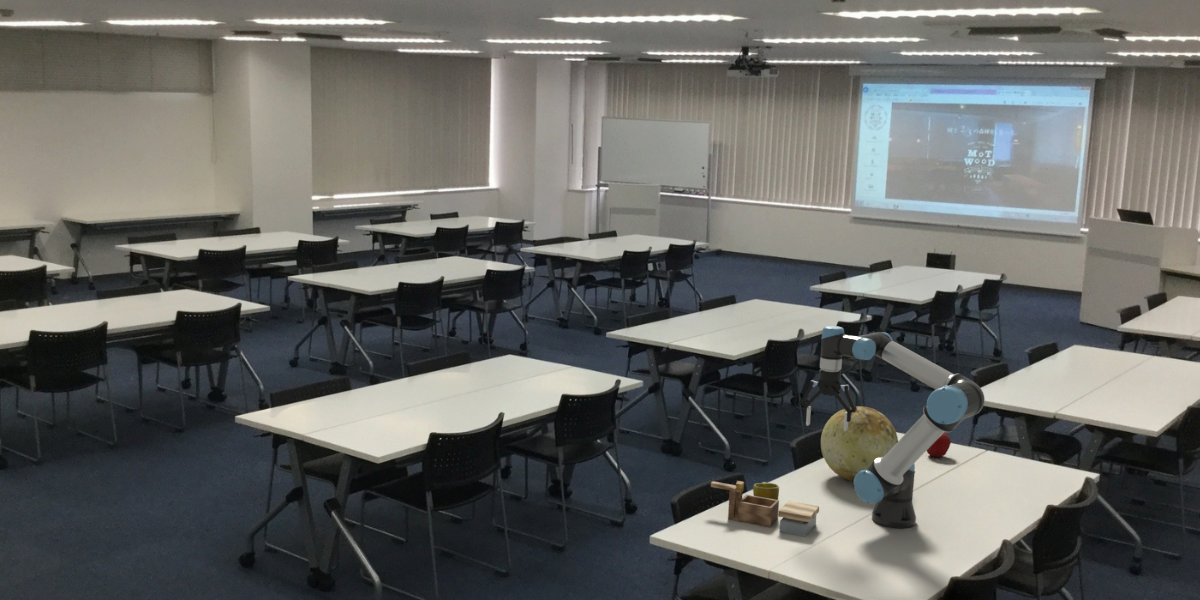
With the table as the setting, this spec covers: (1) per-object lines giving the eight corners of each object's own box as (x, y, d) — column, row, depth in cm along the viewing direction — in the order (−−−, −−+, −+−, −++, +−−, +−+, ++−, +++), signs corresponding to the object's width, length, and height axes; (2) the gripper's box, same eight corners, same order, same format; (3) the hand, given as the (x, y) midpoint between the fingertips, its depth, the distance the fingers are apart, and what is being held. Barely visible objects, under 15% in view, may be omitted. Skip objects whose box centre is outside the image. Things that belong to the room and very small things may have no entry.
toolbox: (777, 519, 368) (779, 488, 367) (770, 527, 360) (772, 495, 359) (736, 511, 375) (737, 480, 373) (727, 519, 367) (729, 487, 365)
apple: (924, 459, 448) (926, 432, 446) (921, 452, 458) (923, 426, 456) (951, 461, 446) (953, 434, 444) (947, 454, 456) (949, 428, 455)
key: (743, 490, 369) (744, 482, 369) (741, 492, 367) (741, 484, 366) (713, 484, 374) (713, 476, 374) (710, 487, 372) (710, 478, 371)
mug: (782, 508, 374) (775, 480, 375) (755, 514, 377) (748, 486, 378) (785, 503, 386) (778, 477, 387) (758, 509, 388) (752, 483, 390)
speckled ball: (904, 478, 420) (910, 406, 416) (881, 497, 395) (887, 421, 391) (833, 464, 436) (838, 394, 432) (807, 482, 411) (812, 408, 407)
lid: (809, 525, 352) (810, 516, 352) (778, 519, 357) (778, 510, 357) (818, 514, 363) (819, 506, 362) (788, 508, 368) (788, 500, 367)
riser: (815, 524, 365) (816, 513, 364) (805, 536, 352) (805, 525, 352) (790, 519, 369) (791, 508, 368) (779, 531, 356) (780, 520, 356)
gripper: (868, 372, 367) (863, 430, 370) (798, 363, 378) (795, 420, 381) (863, 375, 361) (859, 435, 364) (793, 367, 371) (789, 424, 374)
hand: (826, 427), depth 372 cm, fingers open, 13 cm apart
